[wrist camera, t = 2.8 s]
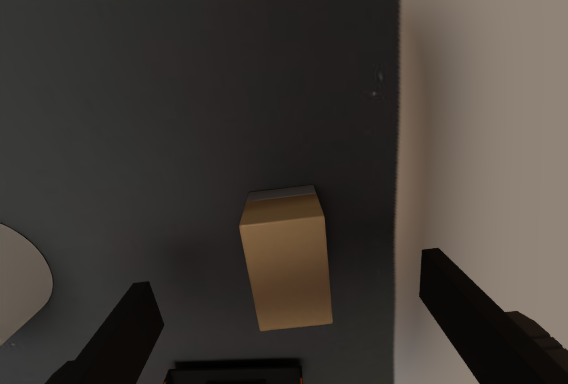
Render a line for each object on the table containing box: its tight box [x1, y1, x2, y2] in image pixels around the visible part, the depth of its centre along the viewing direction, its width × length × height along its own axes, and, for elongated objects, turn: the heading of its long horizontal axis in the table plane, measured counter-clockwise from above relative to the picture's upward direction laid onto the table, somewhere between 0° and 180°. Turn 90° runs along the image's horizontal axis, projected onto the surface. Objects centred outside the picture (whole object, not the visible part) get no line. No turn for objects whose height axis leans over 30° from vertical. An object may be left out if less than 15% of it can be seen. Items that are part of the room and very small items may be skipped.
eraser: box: [239, 185, 333, 331], centre depth 16 cm, size 6×4×4 cm, turn 7°
